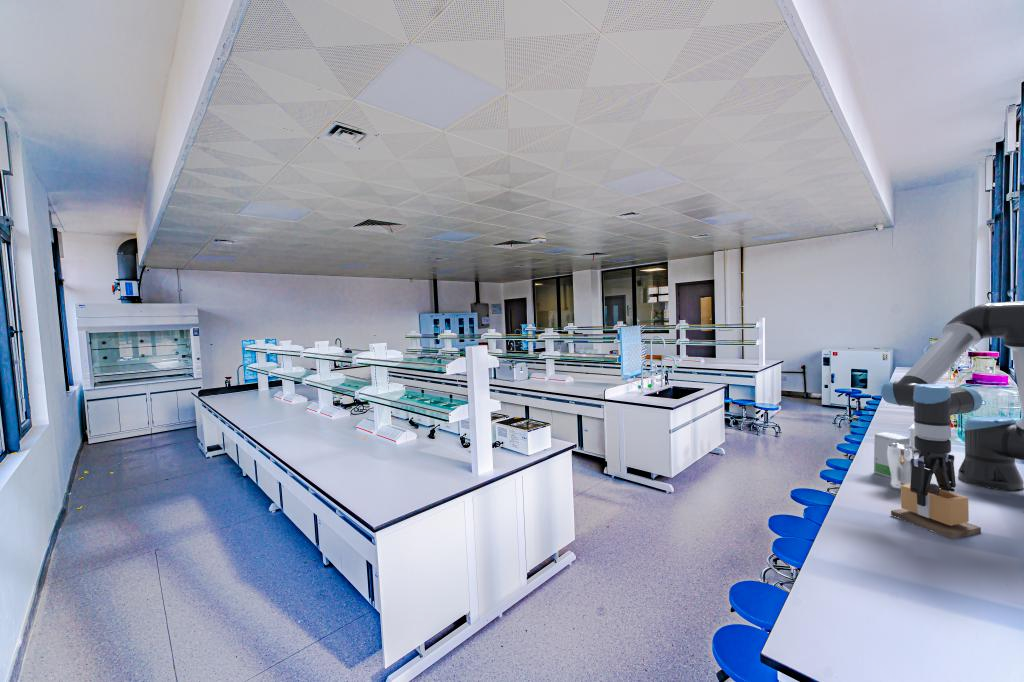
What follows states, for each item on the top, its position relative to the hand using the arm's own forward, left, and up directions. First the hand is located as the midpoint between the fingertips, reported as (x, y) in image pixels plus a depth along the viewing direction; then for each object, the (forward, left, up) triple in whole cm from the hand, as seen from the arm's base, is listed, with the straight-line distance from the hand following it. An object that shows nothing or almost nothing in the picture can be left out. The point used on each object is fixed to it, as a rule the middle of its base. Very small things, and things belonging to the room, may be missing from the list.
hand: (933, 513), depth 121 cm
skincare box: (-28, -30, -3) cm, 41 cm away
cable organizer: (-70, -44, -3) cm, 83 cm away
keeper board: (0, 0, -3) cm, 3 cm away
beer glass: (-19, -21, -3) cm, 29 cm away
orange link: (0, 0, 0) cm, 0 cm away
